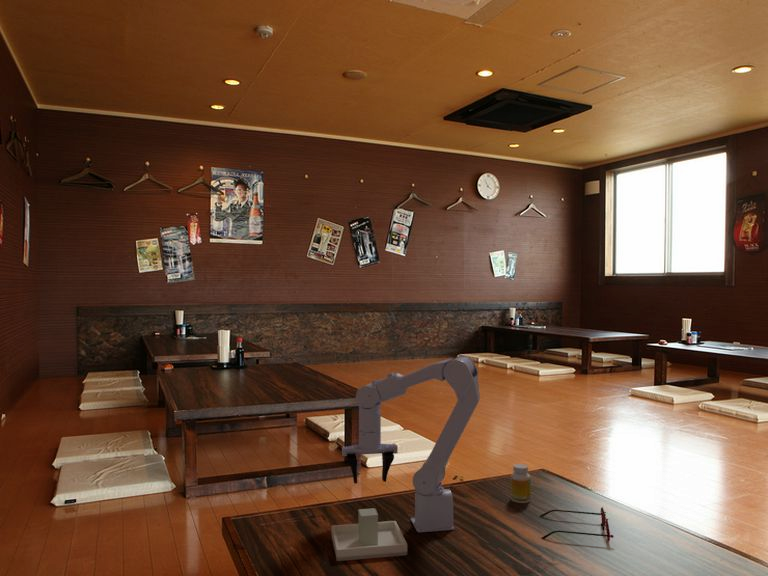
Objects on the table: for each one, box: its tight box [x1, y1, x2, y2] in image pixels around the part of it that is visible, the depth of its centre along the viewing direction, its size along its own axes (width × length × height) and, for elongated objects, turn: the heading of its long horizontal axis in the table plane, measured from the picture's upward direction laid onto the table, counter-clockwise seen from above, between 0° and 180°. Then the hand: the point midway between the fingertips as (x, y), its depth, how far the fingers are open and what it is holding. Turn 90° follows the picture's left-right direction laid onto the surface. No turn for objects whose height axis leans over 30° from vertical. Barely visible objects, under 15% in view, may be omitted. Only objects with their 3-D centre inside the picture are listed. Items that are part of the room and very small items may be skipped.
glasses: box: [538, 506, 615, 543], centre depth 144 cm, size 14×16×5 cm
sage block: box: [357, 507, 379, 546], centre depth 136 cm, size 4×4×7 cm
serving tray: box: [330, 520, 408, 562], centre depth 136 cm, size 16×13×2 cm
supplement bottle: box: [510, 463, 531, 504], centre depth 164 cm, size 5×5×10 cm
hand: (369, 481), depth 152 cm, fingers open, 7 cm apart
